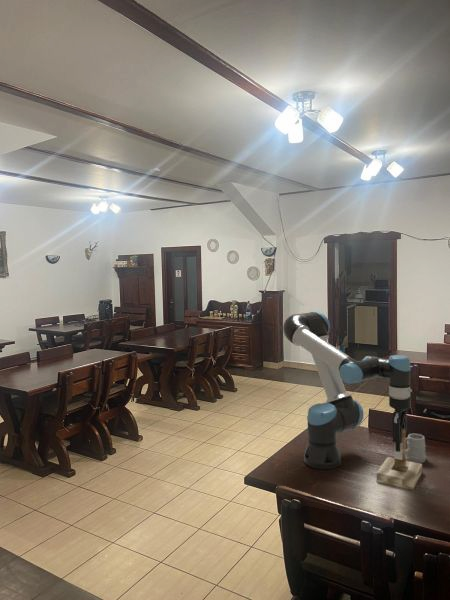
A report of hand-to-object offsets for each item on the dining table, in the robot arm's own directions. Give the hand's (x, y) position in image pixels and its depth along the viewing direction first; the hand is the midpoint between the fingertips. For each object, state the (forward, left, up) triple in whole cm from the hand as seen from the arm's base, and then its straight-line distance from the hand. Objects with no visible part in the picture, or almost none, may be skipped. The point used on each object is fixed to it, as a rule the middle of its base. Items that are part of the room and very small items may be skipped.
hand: (399, 456), depth 173 cm
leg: (0, 0, -3) cm, 3 cm away
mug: (0, +18, -8) cm, 20 cm away
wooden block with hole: (0, 0, -8) cm, 8 cm away
